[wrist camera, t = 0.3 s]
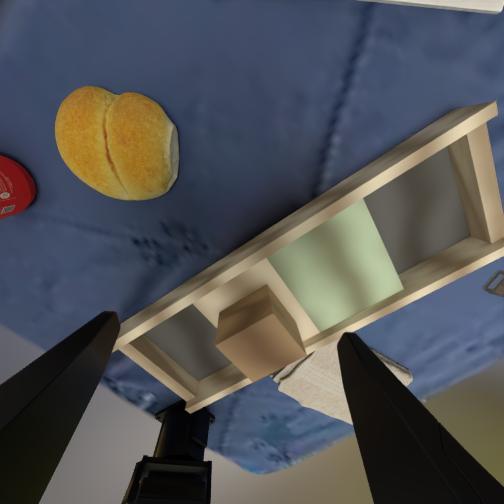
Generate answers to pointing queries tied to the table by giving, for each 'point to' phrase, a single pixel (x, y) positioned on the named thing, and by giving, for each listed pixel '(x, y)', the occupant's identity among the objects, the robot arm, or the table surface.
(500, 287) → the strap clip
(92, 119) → the bread roll
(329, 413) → the washcloth
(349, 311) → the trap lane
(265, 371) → the walnut block
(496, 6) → the white plastic beam
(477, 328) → the table surface
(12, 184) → the beverage can
